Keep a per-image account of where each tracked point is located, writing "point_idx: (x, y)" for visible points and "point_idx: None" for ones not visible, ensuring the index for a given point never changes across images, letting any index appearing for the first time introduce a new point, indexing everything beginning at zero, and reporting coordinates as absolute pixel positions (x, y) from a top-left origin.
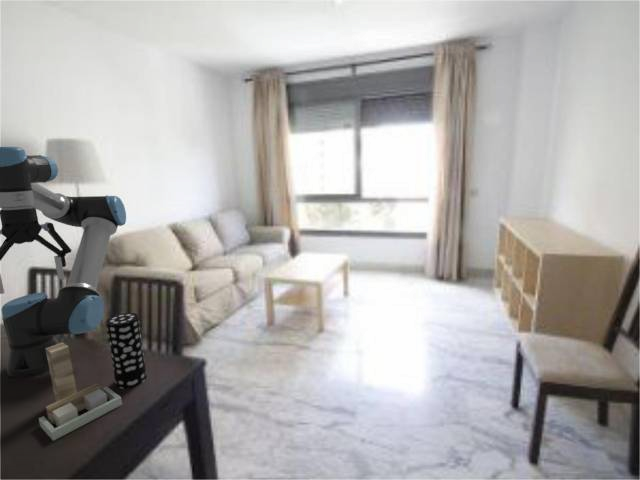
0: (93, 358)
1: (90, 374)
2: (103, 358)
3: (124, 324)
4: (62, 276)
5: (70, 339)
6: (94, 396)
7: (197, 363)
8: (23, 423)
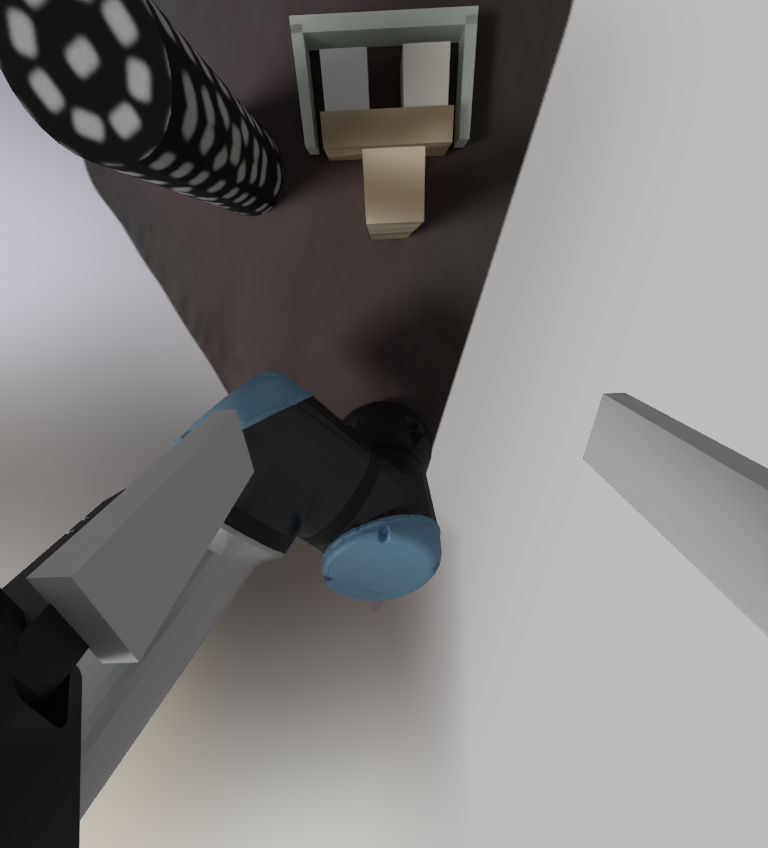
0: None
1: (315, 308)
2: (274, 362)
3: None
4: (214, 421)
5: None
6: (348, 71)
7: None
8: (477, 208)
